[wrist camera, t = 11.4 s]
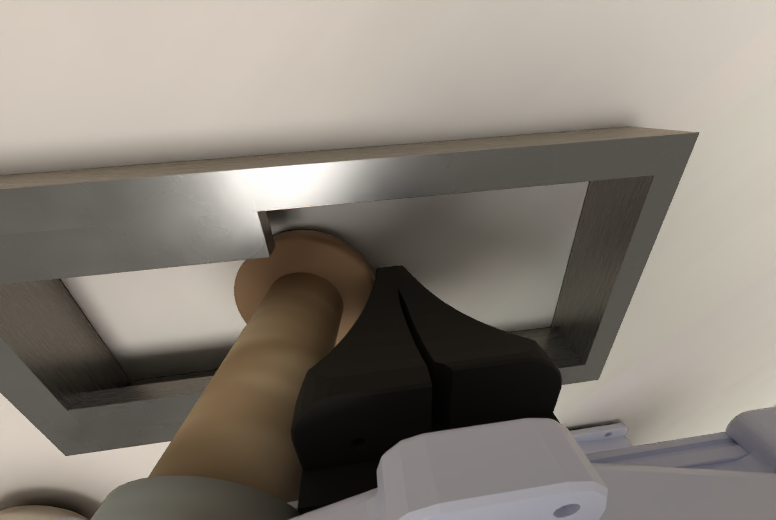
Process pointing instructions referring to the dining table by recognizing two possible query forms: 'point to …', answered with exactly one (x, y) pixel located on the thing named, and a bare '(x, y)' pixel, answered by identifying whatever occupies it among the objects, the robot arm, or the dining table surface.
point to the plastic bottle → (37, 513)
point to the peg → (255, 390)
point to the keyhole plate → (255, 240)
